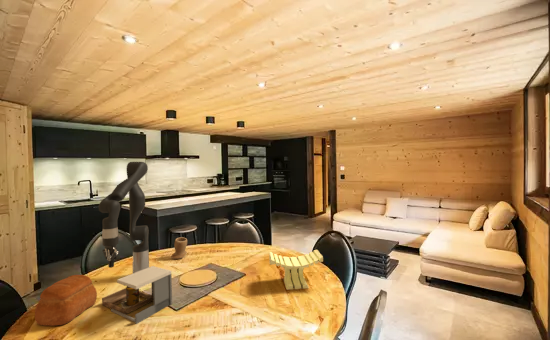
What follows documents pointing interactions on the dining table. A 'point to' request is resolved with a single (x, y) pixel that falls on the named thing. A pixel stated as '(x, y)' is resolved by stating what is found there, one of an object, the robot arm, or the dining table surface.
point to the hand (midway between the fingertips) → (111, 267)
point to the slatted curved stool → (295, 267)
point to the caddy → (120, 297)
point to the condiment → (131, 297)
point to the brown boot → (179, 248)
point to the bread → (65, 300)
